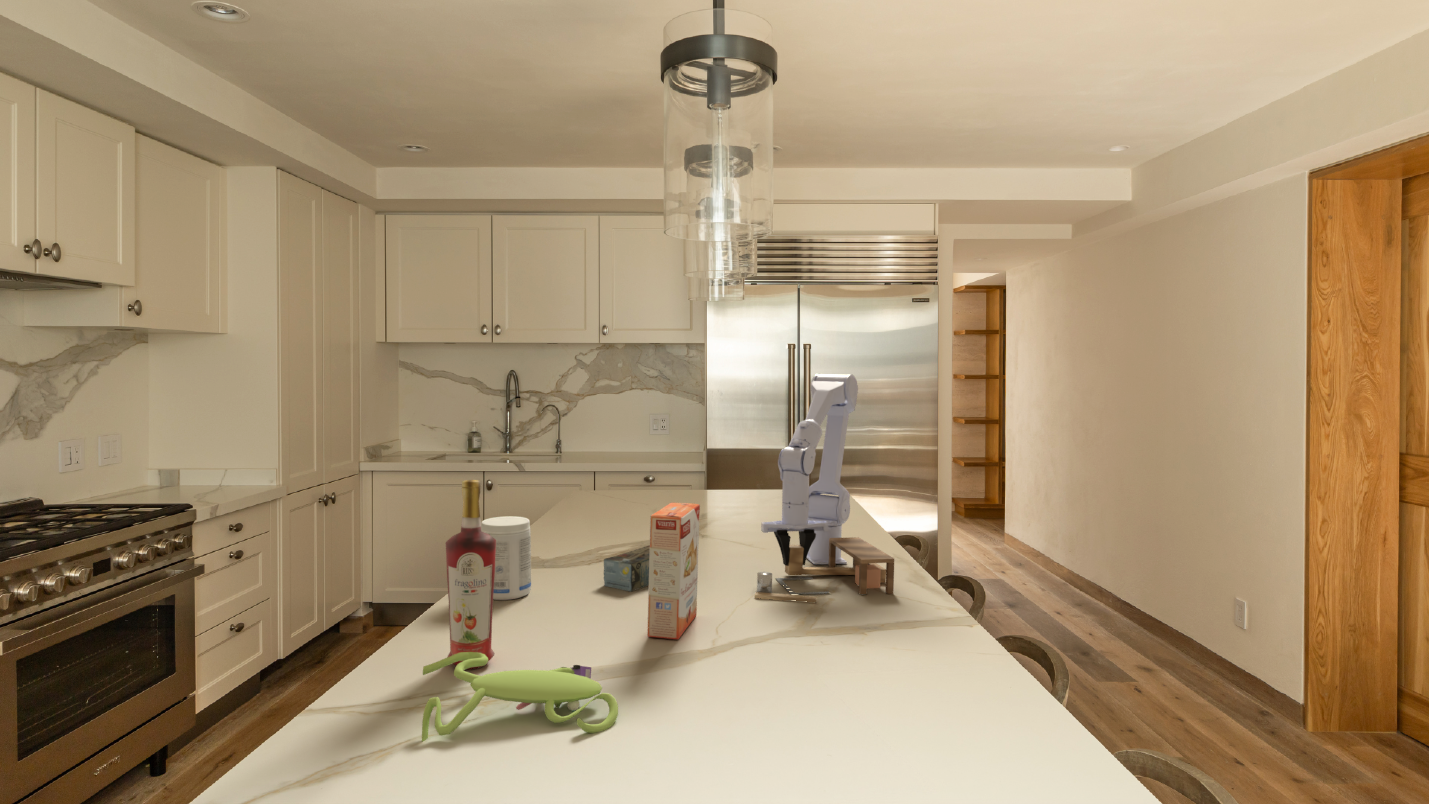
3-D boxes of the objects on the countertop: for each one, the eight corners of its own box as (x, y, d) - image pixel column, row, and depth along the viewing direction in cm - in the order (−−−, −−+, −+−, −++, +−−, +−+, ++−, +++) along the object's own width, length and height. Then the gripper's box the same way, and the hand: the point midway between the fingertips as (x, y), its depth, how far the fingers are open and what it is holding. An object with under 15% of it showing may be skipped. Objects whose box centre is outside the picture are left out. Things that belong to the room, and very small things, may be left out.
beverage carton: (601, 586, 168) (601, 555, 168) (658, 568, 184) (659, 539, 184) (630, 593, 164) (631, 560, 163) (687, 573, 180) (687, 544, 179)
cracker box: (681, 641, 136) (682, 516, 135) (646, 638, 137) (647, 514, 136) (699, 615, 149) (701, 502, 148) (667, 613, 151) (669, 500, 149)
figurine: (429, 685, 117) (429, 647, 117) (617, 679, 120) (617, 641, 120) (395, 746, 99) (395, 701, 98) (618, 737, 102) (618, 693, 102)
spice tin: (755, 591, 166) (755, 571, 166) (769, 590, 166) (770, 571, 166) (758, 595, 163) (759, 575, 163) (773, 595, 164) (773, 575, 163)
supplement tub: (518, 584, 168) (518, 513, 167) (539, 595, 160) (540, 521, 160) (472, 592, 162) (472, 519, 161) (492, 604, 154) (493, 527, 153)
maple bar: (755, 597, 163) (756, 591, 163) (816, 602, 160) (816, 596, 160) (754, 600, 161) (754, 594, 161) (815, 605, 159) (815, 599, 158)
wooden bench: (828, 569, 184) (829, 538, 184) (857, 568, 185) (858, 537, 185) (860, 594, 164) (861, 559, 164) (893, 593, 166) (894, 558, 165)
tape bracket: (775, 579, 175) (775, 578, 175) (811, 577, 177) (811, 576, 177) (791, 595, 163) (791, 594, 163) (829, 593, 165) (829, 592, 165)
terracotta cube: (855, 583, 173) (855, 565, 173) (872, 583, 174) (873, 564, 174) (862, 589, 169) (862, 570, 169) (880, 588, 170) (880, 569, 170)
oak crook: (870, 572, 182) (871, 545, 182) (885, 582, 174) (887, 554, 174) (784, 571, 179) (786, 544, 178) (796, 582, 170) (797, 553, 170)
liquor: (444, 675, 120) (444, 485, 118) (446, 657, 127) (446, 478, 125) (496, 671, 122) (496, 484, 120) (495, 653, 129) (496, 477, 127)
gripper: (767, 506, 171) (766, 570, 172) (833, 505, 174) (831, 567, 175) (759, 500, 178) (758, 561, 179) (822, 499, 181) (821, 559, 182)
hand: (794, 564), depth 177 cm, fingers closed on oak crook, 3 cm apart
